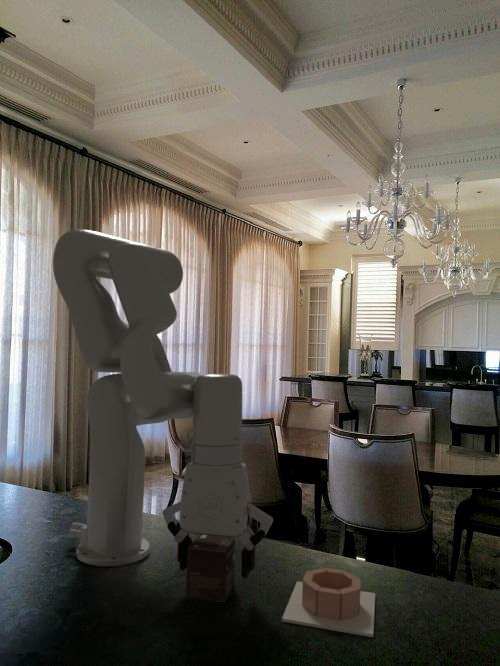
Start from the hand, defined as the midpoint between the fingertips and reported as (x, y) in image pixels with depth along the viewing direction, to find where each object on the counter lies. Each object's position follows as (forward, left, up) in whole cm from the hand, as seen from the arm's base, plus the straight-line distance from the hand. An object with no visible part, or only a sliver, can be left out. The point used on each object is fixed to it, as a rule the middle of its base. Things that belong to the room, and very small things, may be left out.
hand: (215, 570), depth 76 cm
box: (-1, 0, -4) cm, 4 cm away
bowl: (+17, +1, -3) cm, 18 cm away
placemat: (+17, +1, -3) cm, 18 cm away
